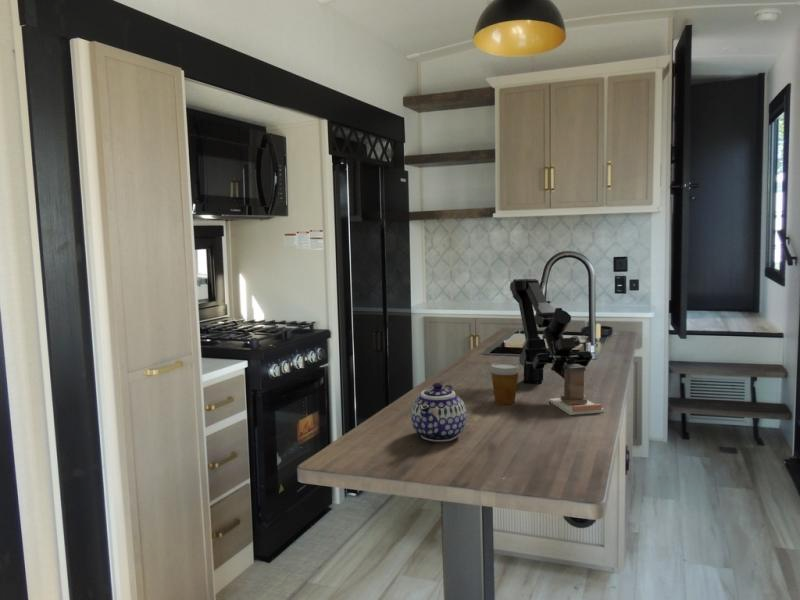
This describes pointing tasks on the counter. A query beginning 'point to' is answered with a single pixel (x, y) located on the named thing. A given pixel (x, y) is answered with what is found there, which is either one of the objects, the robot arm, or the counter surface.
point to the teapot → (438, 414)
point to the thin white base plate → (577, 407)
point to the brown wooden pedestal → (574, 384)
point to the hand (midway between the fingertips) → (570, 382)
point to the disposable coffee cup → (504, 382)
